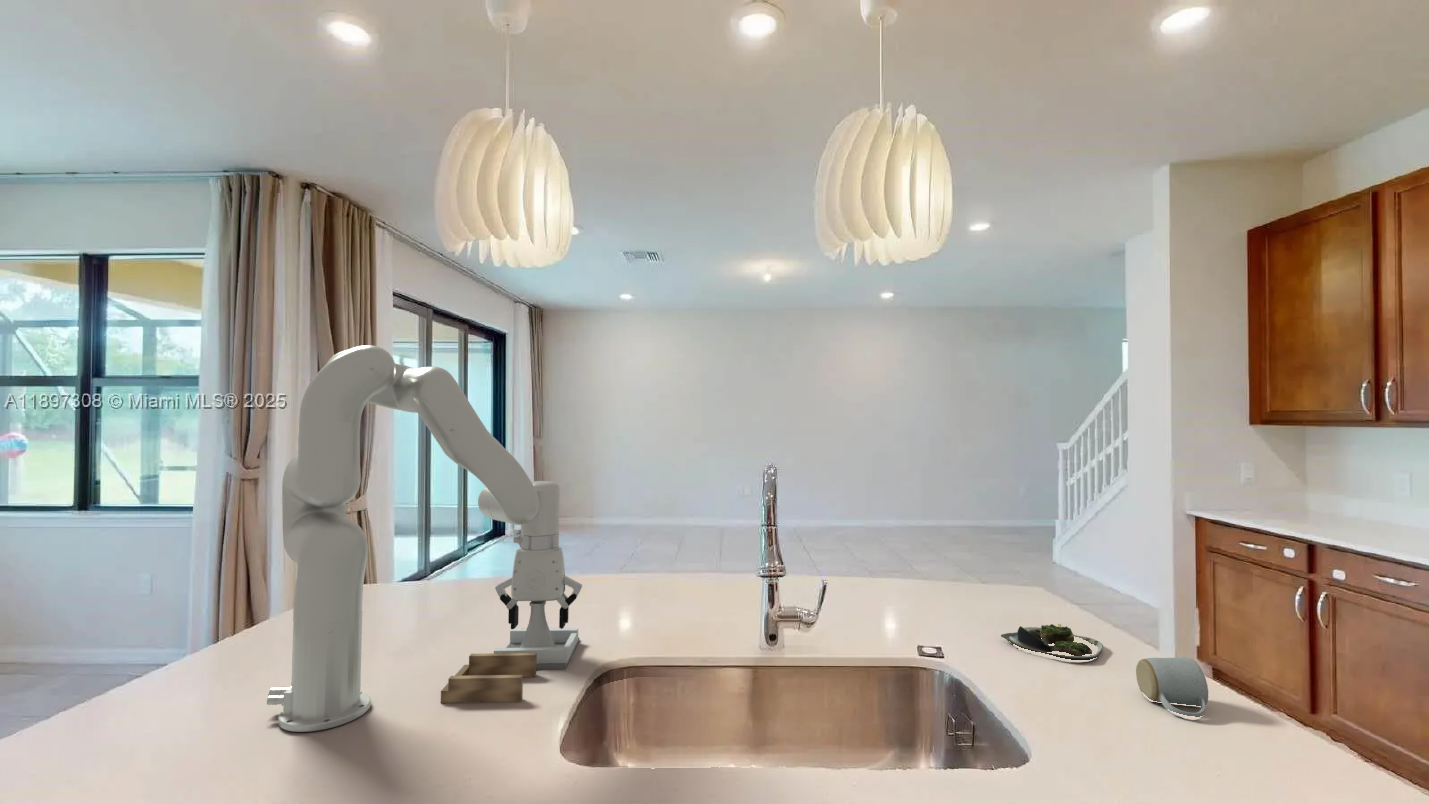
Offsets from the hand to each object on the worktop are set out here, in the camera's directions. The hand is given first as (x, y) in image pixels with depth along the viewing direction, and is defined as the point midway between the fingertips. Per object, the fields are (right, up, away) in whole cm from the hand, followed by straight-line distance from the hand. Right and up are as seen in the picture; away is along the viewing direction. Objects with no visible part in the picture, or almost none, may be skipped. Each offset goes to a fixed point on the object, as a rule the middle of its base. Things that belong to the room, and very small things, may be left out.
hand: (538, 626), depth 127 cm
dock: (0, -6, 0) cm, 6 cm away
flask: (0, -5, 0) cm, 5 cm away
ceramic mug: (+114, -6, -22) cm, 116 cm away
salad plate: (+108, -7, +6) cm, 108 cm away
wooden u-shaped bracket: (-3, -5, -16) cm, 17 cm away
